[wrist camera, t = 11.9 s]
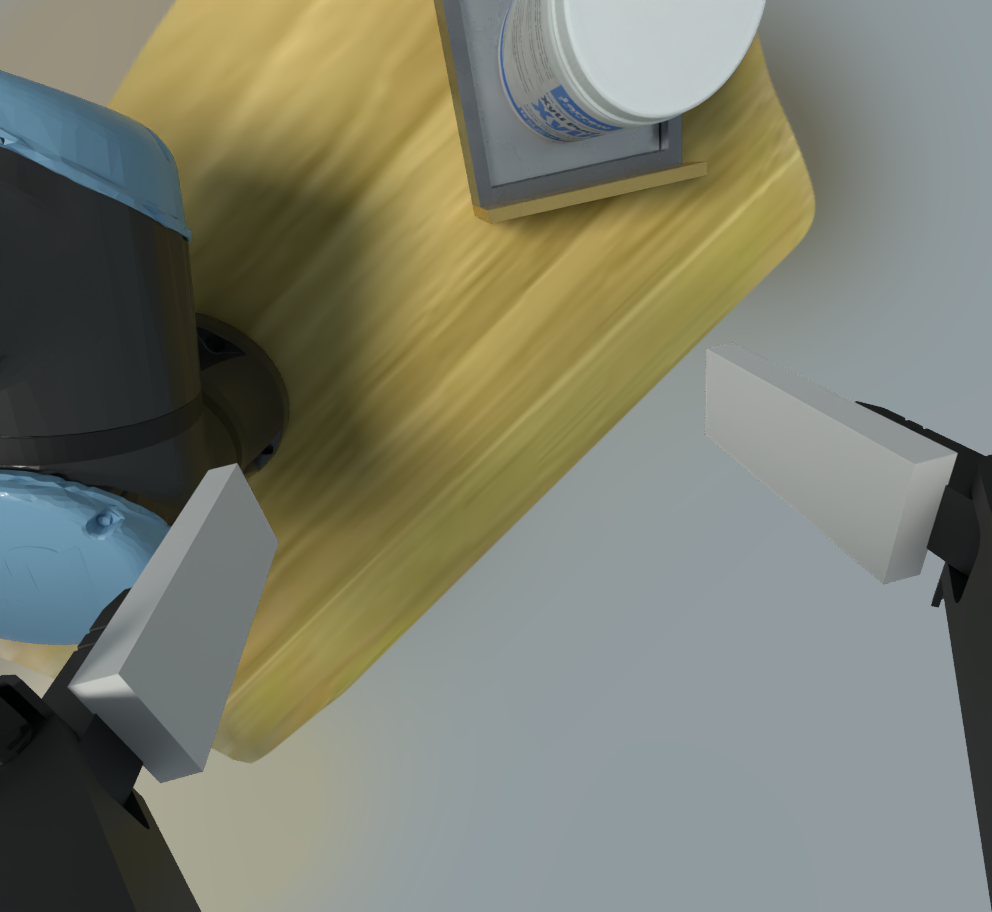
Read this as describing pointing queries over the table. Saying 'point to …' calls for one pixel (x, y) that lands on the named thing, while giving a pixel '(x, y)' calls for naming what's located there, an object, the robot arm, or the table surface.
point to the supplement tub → (618, 60)
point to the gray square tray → (527, 156)
